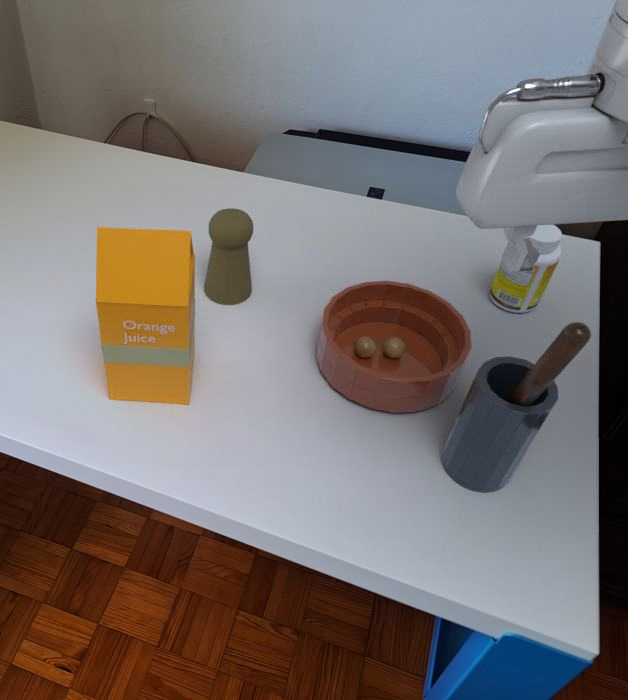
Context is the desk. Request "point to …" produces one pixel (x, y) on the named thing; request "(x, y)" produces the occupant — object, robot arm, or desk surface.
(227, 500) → the desk surface
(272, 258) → the desk surface
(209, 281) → the olive game pawn
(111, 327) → the orange juice
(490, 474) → the crock
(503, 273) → the supplement bottle
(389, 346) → the bead
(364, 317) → the bowl
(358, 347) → the bead
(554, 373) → the stir paddle
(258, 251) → the desk surface
